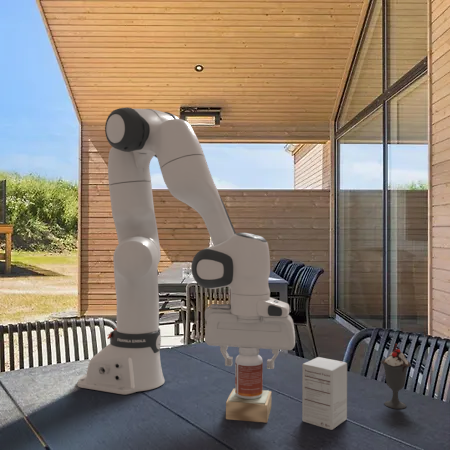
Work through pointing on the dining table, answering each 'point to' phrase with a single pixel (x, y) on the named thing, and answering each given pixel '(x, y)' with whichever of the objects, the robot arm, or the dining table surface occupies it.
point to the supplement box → (324, 392)
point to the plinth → (249, 407)
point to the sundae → (395, 376)
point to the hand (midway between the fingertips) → (249, 366)
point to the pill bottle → (248, 373)
